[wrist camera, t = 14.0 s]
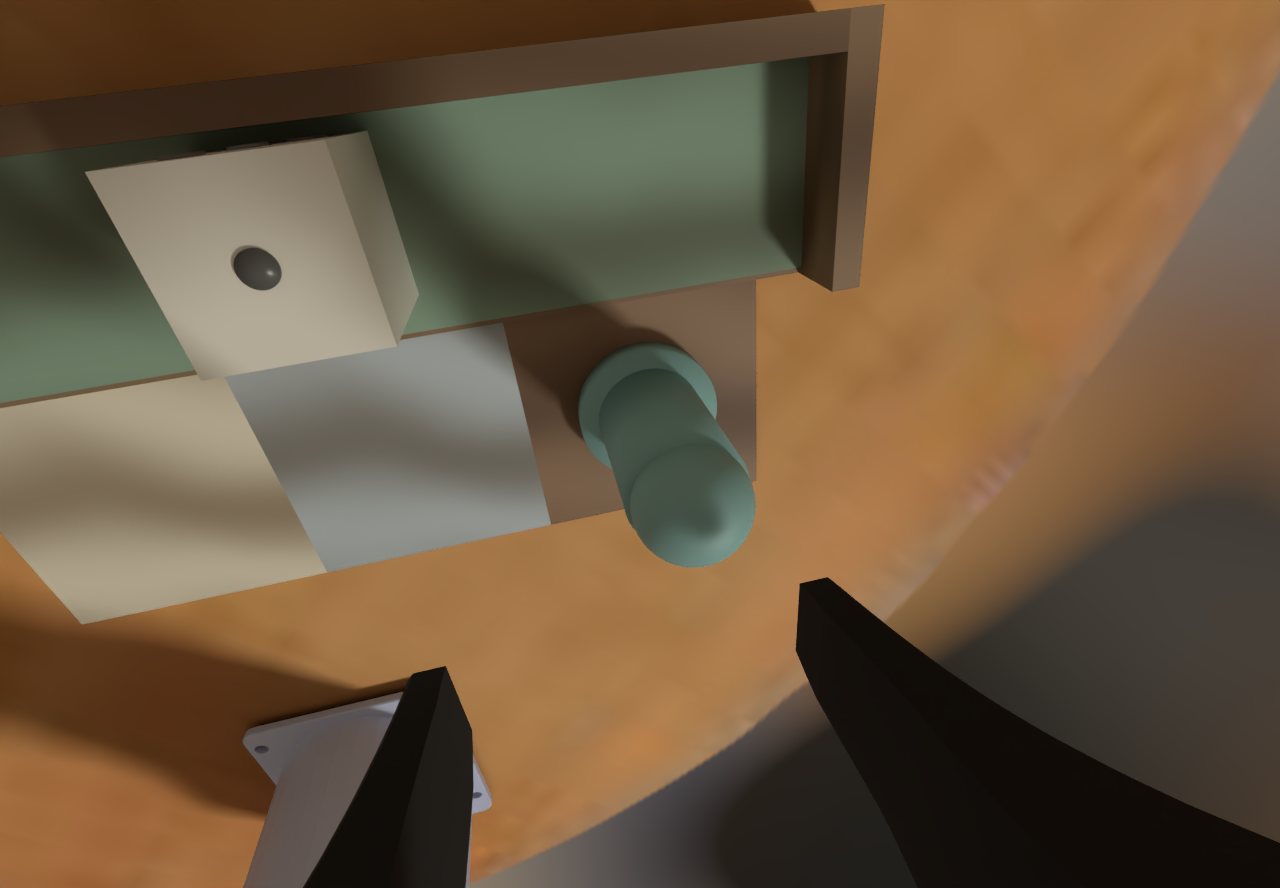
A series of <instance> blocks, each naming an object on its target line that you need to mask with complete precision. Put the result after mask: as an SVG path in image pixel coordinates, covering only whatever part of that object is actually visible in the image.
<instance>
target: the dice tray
mask: <svg viewBox="0 0 1280 888" xmlns="http://www.w3.org/2000/svg"><path fill="white" fill-rule="evenodd" d="M884 5H885V4H882V5H873V6H864V7H856V8H847V9H838V10H830V11H821V12H812V13H804V14H795V15H786V16H777V17H769V18H760V19H751V20H743V21H734V22H725V23H717V24H708V25H699V26H691V27H682V28H673V29H665V30H656V31H647V32H639V33H630V34H621V35H613V36H604V37H595V38H587V39H578V40H569V41H561V42H552V43H543V44H535V45H526V46H517V47H509V48H500V49H491V50H483V51H474V52H465V53H457V54H448V55H439V56H431V57H422V58H413V59H405V60H396V61H387V62H379V63H370V64H361V65H352V66H344V67H335V68H326V69H318V70H309V71H300V72H292V73H283V74H274V75H266V76H257V77H248V78H240V79H231V80H222V81H214V82H205V83H196V84H188V85H179V86H170V87H162V88H153V89H144V90H136V91H127V92H118V93H110V94H101V95H92V96H84V97H75V98H66V99H58V100H49V101H40V102H32V103H23V104H14V105H6V106H0V408H5V407H11V406H16V405H22V404H28V403H34V402H40V401H46V400H52V399H58V398H63V397H69V396H75V395H81V394H87V393H93V392H99V391H104V390H110V389H116V388H122V387H128V386H134V385H140V384H145V383H151V382H157V381H163V380H169V379H175V378H181V377H187V376H192V375H198V374H197V373H196V371H195V369H194V367H193V365H192V364H191V362H190V360H189V358H188V356H187V355H186V353H185V351H184V349H183V347H182V346H181V344H180V342H179V340H178V338H177V337H176V335H175V333H174V331H173V329H172V328H171V326H170V324H169V322H168V320H167V319H166V317H165V315H164V313H163V311H162V310H161V308H160V306H159V304H158V303H157V301H156V299H155V297H154V295H153V294H152V292H151V290H150V288H149V286H148V285H147V283H146V281H145V279H144V277H143V276H142V274H141V272H140V270H139V268H138V267H137V265H136V263H135V261H134V259H133V258H132V256H131V254H130V252H129V250H128V249H127V247H126V245H125V243H124V241H123V240H122V238H121V236H120V234H119V232H118V231H117V229H116V227H115V225H114V223H113V222H112V220H111V218H110V216H109V214H108V213H107V211H106V209H105V207H104V206H103V204H102V202H101V200H100V198H99V197H98V195H97V193H96V191H95V189H94V188H93V186H92V184H91V182H90V180H89V179H88V177H87V175H86V173H85V172H88V171H93V170H99V169H105V168H111V167H117V166H123V165H128V164H134V163H140V162H146V161H152V160H156V158H155V157H158V156H165V155H172V154H179V153H186V152H194V151H202V150H204V151H205V152H208V151H216V150H223V149H226V148H225V147H228V146H235V145H242V144H249V143H257V142H265V141H269V143H276V142H284V141H286V139H285V138H291V137H298V136H305V135H313V134H321V133H325V136H329V135H336V134H344V133H351V132H359V131H366V130H367V131H368V134H369V137H370V141H371V144H372V147H373V150H374V153H375V157H376V160H377V163H378V166H379V169H380V172H381V176H382V179H383V182H384V185H385V188H386V192H387V195H388V198H389V201H390V204H391V207H392V211H393V214H394V217H395V220H396V223H397V227H398V230H399V233H400V236H401V239H402V242H403V246H404V249H405V252H406V255H407V258H408V262H409V265H410V268H411V271H412V274H413V277H414V281H415V284H416V287H417V290H418V293H419V296H418V298H417V300H416V303H415V305H414V308H413V310H412V312H411V315H410V317H409V320H408V322H407V324H406V327H405V329H404V331H403V334H402V336H401V339H400V340H404V339H409V338H415V337H421V336H427V335H433V334H439V333H445V332H450V331H456V330H462V329H468V328H474V327H480V326H486V325H492V324H497V323H503V322H509V321H515V320H521V319H527V318H533V317H538V316H544V315H550V314H556V313H562V312H568V311H574V310H579V309H585V308H591V307H597V306H603V305H609V304H615V303H621V302H626V301H632V300H638V299H644V298H650V297H656V296H662V295H667V294H673V293H679V292H685V291H691V290H697V289H703V288H708V287H714V286H720V285H726V284H732V283H738V282H744V281H750V280H755V279H761V278H767V277H773V276H779V275H785V274H791V273H796V272H799V273H801V274H802V275H804V276H806V277H808V278H809V279H811V280H813V281H815V282H816V283H818V284H820V285H822V286H823V287H825V288H827V289H828V290H830V291H832V292H834V291H839V290H845V289H851V288H856V287H859V282H860V271H861V260H862V249H863V238H864V227H865V216H866V204H867V193H868V182H869V171H870V160H871V149H872V138H873V127H874V116H875V105H876V94H877V82H878V71H879V60H880V49H881V38H882V27H883V16H884Z"/></svg>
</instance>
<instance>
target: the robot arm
mask: <svg viewBox="0 0 1280 888" xmlns="http://www.w3.org/2000/svg"><path fill="white" fill-rule="evenodd" d="M796 652H797V654H798V657H799V659H800V661H801V664H802V666H803V669H804V671H805V673H806V676H807V678H808V680H809V682H810V685H811V687H812V689H813V691H814V694H815V696H816V698H817V700H818V702H819V703H820V705H821V707H822V709H823V711H824V712H825V714H826V716H827V717H828V719H829V721H830V723H831V725H832V726H833V728H834V730H835V732H836V733H837V735H838V737H839V739H840V740H841V742H842V744H843V745H844V747H845V749H846V751H847V752H848V754H849V755H850V758H851V759H852V761H853V763H854V764H855V766H856V768H857V770H858V771H859V773H860V775H861V777H862V778H863V780H864V782H865V784H866V785H867V787H868V789H869V791H870V792H871V794H872V796H873V797H874V799H875V801H876V803H877V805H878V806H879V808H880V810H881V812H882V814H883V816H884V818H885V820H886V822H887V823H888V825H889V827H890V829H891V831H892V834H893V836H894V838H895V840H896V842H897V844H898V846H899V848H900V851H901V853H902V855H903V857H904V859H905V861H906V863H907V866H908V867H909V870H910V872H911V874H912V876H913V878H914V881H915V883H916V885H917V887H918V888H1280V843H1278V842H1276V841H1274V840H1271V839H1269V838H1266V837H1264V836H1261V835H1259V834H1257V833H1254V832H1252V831H1250V830H1247V829H1245V828H1242V827H1240V826H1238V825H1235V824H1233V823H1231V822H1228V821H1226V820H1224V819H1221V818H1218V817H1216V816H1214V815H1211V814H1209V813H1207V812H1204V811H1202V810H1200V809H1197V808H1195V807H1193V806H1190V805H1188V804H1186V803H1184V802H1182V801H1179V800H1177V799H1175V798H1173V797H1171V796H1169V795H1166V794H1164V793H1162V792H1160V791H1158V790H1156V789H1154V788H1152V787H1149V786H1147V785H1145V784H1143V783H1141V782H1139V781H1137V780H1135V779H1132V778H1131V777H1128V776H1127V775H1125V774H1122V773H1121V772H1119V771H1117V770H1115V769H1113V768H1111V767H1109V766H1107V765H1105V764H1103V763H1101V762H1099V761H1097V760H1095V759H1093V758H1091V757H1090V756H1088V755H1086V754H1084V753H1082V752H1080V751H1078V750H1076V749H1074V748H1072V747H1071V746H1069V745H1067V744H1065V743H1063V742H1061V741H1059V740H1057V739H1056V738H1054V737H1052V736H1050V735H1048V734H1047V733H1045V732H1043V731H1042V730H1040V729H1038V728H1036V727H1035V726H1033V725H1031V724H1029V723H1028V722H1026V721H1025V720H1023V719H1021V718H1020V717H1018V716H1016V715H1015V714H1013V713H1011V712H1010V711H1008V710H1006V709H1004V708H1003V707H1001V706H1000V705H998V704H996V703H995V702H994V701H992V700H990V699H989V698H987V697H986V696H984V695H983V694H981V693H980V692H978V691H977V690H975V689H974V688H972V687H970V686H969V685H968V684H966V683H965V682H963V681H962V680H961V679H959V678H958V677H956V676H955V675H953V674H952V673H950V672H949V671H947V670H946V669H945V668H943V667H942V666H940V665H939V664H938V663H936V662H935V661H934V660H932V659H931V658H929V657H928V656H927V655H925V654H924V653H923V652H921V651H920V650H919V649H917V648H916V647H914V646H913V645H912V644H911V643H909V642H908V641H907V640H905V639H904V638H903V637H901V636H900V635H899V634H897V633H896V632H895V631H894V630H892V629H891V628H890V627H888V626H887V625H886V624H885V623H884V622H882V621H881V620H880V619H879V618H877V617H876V616H875V615H874V614H872V613H871V612H870V611H869V610H867V609H866V608H865V607H864V606H862V605H861V604H860V603H859V602H858V601H856V600H855V599H854V598H853V597H851V596H850V595H849V594H848V593H847V592H845V591H844V590H843V589H842V588H841V587H839V586H838V585H837V584H836V583H834V582H833V581H832V580H831V579H829V578H828V577H827V578H822V579H818V580H814V581H809V582H805V583H801V584H800V589H799V606H798V622H797V639H796ZM242 742H243V745H244V746H245V747H246V748H247V750H248V751H249V752H250V753H251V755H252V756H253V757H254V758H255V760H256V761H257V762H258V763H259V765H260V766H261V767H262V768H263V770H264V771H265V772H266V773H267V775H268V776H269V777H270V779H271V780H272V781H273V782H274V784H275V785H276V789H275V792H274V795H273V798H272V801H271V804H270V807H269V810H268V813H267V816H266V819H265V823H264V826H263V829H262V832H261V835H260V838H259V841H258V844H257V847H256V850H255V853H254V856H253V859H252V862H251V865H250V868H249V872H248V875H247V878H246V881H245V884H244V887H243V888H469V877H470V852H471V827H472V814H473V813H477V812H481V811H484V810H487V809H488V808H490V807H491V805H492V796H491V794H490V791H489V789H488V787H487V785H486V782H485V780H484V778H483V776H482V774H481V771H480V769H479V767H478V765H477V762H476V760H475V758H474V756H473V743H472V729H471V727H470V724H469V722H468V719H467V717H466V714H465V712H464V710H463V707H462V705H461V702H460V700H459V697H458V695H457V693H456V690H455V688H454V685H453V683H452V680H451V678H450V675H449V673H448V671H447V668H446V666H444V667H440V668H435V669H431V670H427V671H422V672H418V673H414V674H413V675H412V676H411V677H410V678H409V680H408V682H407V685H406V687H405V689H404V691H403V692H399V693H395V694H391V695H386V696H382V697H378V698H374V699H370V700H366V701H361V702H357V703H353V704H349V705H345V706H341V707H336V708H332V709H328V710H324V711H320V712H316V713H311V714H307V715H303V716H299V717H295V718H291V719H286V720H282V721H278V722H274V723H270V724H266V725H261V726H257V727H254V728H251V729H249V730H248V731H246V733H245V736H244V738H243V741H242Z"/></svg>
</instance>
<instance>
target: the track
mask: <svg viewBox="0 0 1280 888" xmlns="http://www.w3.org/2000/svg"><path fill="white" fill-rule="evenodd" d="M641 342H660V343H666V344H670V345H673V346H675V347H678V348H680V349H682V350H683V351H685V352H687V353H688V354H689V355H690V356H692V357H693V358H694V359H695V360H696V361H697V362H698V364H699V365H700V366H701V367H702V369H703V370H704V371H705V373H706V374H707V375H708V377H709V379H710V380H711V382H712V385H713V387H714V390H715V393H716V399H717V413H716V422H717V423H718V425H719V426H720V428H721V429H722V430H723V432H724V433H725V435H726V436H727V438H728V439H729V441H730V442H731V444H732V445H733V447H734V448H735V449H736V451H737V452H738V454H739V455H740V457H741V458H742V460H743V461H744V463H745V465H746V467H747V470H748V474H749V479H750V481H751V482H753V481H756V279H755V280H750V281H744V282H738V283H732V284H726V285H720V286H714V287H708V288H703V289H697V290H691V291H685V292H679V293H673V294H667V295H662V296H656V297H650V298H644V299H638V300H632V301H626V302H621V303H615V304H609V305H603V306H597V307H591V308H585V309H579V310H574V311H568V312H562V313H556V314H550V315H544V316H538V317H533V318H527V319H521V320H515V321H509V322H503V323H497V324H492V325H486V326H480V327H474V328H468V329H462V330H456V331H450V332H445V333H439V334H433V335H427V336H421V337H415V338H409V339H404V340H400V341H399V343H398V346H397V347H391V348H386V349H380V350H374V351H369V352H363V353H357V354H352V355H346V356H340V357H334V358H329V359H323V360H317V361H312V362H306V363H300V364H295V365H289V366H283V367H278V368H272V369H266V370H260V371H255V372H249V373H243V374H238V375H232V376H226V377H221V378H215V379H209V380H204V381H201V380H200V378H199V376H198V375H192V376H187V377H181V378H175V379H169V380H163V381H157V382H151V383H145V384H140V385H134V386H128V387H122V388H116V389H110V390H104V391H99V392H93V393H87V394H81V395H75V396H69V397H63V398H58V399H52V400H46V401H40V402H34V403H28V404H22V405H16V406H11V407H5V408H0V532H1V533H2V535H3V536H4V537H5V538H6V539H7V540H8V541H9V542H10V544H11V545H12V546H13V547H14V548H15V549H16V550H17V552H18V553H19V554H20V555H21V556H22V557H23V558H24V559H25V561H26V562H27V563H28V564H29V565H30V566H31V567H32V569H33V570H34V571H35V572H36V573H37V574H38V575H39V577H40V578H41V579H42V580H43V581H44V582H45V583H46V584H47V586H48V587H49V588H50V589H51V590H52V591H53V592H54V594H55V595H56V596H57V597H58V598H59V599H60V600H61V601H62V603H63V604H64V605H65V606H66V607H67V608H68V609H69V611H70V612H71V613H72V614H73V615H74V616H75V617H76V618H77V620H78V621H79V622H80V623H81V624H82V625H83V624H87V623H92V622H97V621H101V620H106V619H111V618H116V617H120V616H125V615H130V614H134V613H139V612H144V611H148V610H153V609H158V608H162V607H167V606H172V605H176V604H181V603H186V602H191V601H195V600H200V599H205V598H209V597H214V596H219V595H223V594H228V593H233V592H237V591H242V590H247V589H252V588H256V587H261V586H266V585H270V584H275V583H280V582H284V581H289V580H294V579H298V578H303V577H308V576H312V575H317V574H322V573H327V572H331V571H336V570H341V569H345V568H350V567H355V566H359V565H364V564H369V563H373V562H378V561H383V560H388V559H392V558H397V557H402V556H406V555H411V554H416V553H420V552H425V551H430V550H434V549H439V548H444V547H448V546H453V545H458V544H463V543H467V542H472V541H477V540H481V539H486V538H491V537H495V536H500V535H505V534H509V533H514V532H519V531H524V530H528V529H533V528H538V527H542V526H547V525H552V524H556V523H561V522H566V521H570V520H575V519H580V518H584V517H589V516H594V515H599V514H603V513H608V512H613V511H617V510H622V509H624V506H623V502H622V499H621V496H620V493H619V489H618V486H617V483H616V480H615V476H614V473H613V470H612V469H611V468H609V467H607V466H606V465H604V464H603V463H601V462H600V461H599V460H598V459H597V458H596V457H595V456H594V455H593V454H592V453H591V451H590V450H589V448H588V446H587V445H586V442H585V440H584V438H583V434H582V430H581V426H580V422H579V417H578V401H579V395H580V392H581V389H582V386H583V384H584V382H585V380H586V378H587V377H588V375H589V373H590V372H591V371H592V369H593V368H594V367H595V366H596V365H597V364H598V363H599V362H600V361H601V360H602V359H603V358H605V357H606V356H608V355H609V354H610V353H612V352H614V351H616V350H618V349H620V348H622V347H625V346H627V345H631V344H635V343H641Z"/></svg>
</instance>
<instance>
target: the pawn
mask: <svg viewBox="0 0 1280 888" xmlns="http://www.w3.org/2000/svg"><path fill="white" fill-rule="evenodd" d="M716 413H717V399H716V393H715V390H714V387H713V385H712V382H711V380H710V379H709V377H708V375H707V374H706V373H705V371H704V370H703V369H702V367H701V366H700V365H699V364H698V362H697V361H696V360H695V359H694V358H693V357H692V356H690V355H689V354H688V353H687V352H685V351H683V350H682V349H680V348H678V347H675V346H673V345H670V344H666V343H660V342H641V343H635V344H631V345H627V346H625V347H622V348H620V349H618V350H616V351H614V352H612V353H610V354H609V355H608V356H606V357H605V358H603V359H602V360H601V361H600V362H599V363H598V364H597V365H596V366H595V367H594V368H593V369H592V371H591V372H590V373H589V375H588V377H587V378H586V380H585V382H584V384H583V386H582V389H581V392H580V395H579V401H578V417H579V422H580V426H581V430H582V434H583V438H584V440H585V442H586V445H587V446H588V448H589V450H590V451H591V453H592V454H593V455H594V456H595V457H596V458H597V459H598V460H599V461H600V462H601V463H603V464H604V465H606V466H607V467H609V468H611V469H612V470H613V473H614V476H615V480H616V483H617V486H618V489H619V493H620V496H621V499H622V502H623V506H624V509H625V512H626V515H627V518H628V520H629V522H630V524H631V525H632V527H633V528H634V529H635V530H636V532H637V534H638V536H639V537H640V539H641V540H642V542H643V543H644V544H645V545H646V547H647V548H648V549H649V550H650V551H651V552H653V553H654V554H655V555H656V556H658V557H660V558H661V559H663V560H665V561H666V562H669V563H671V564H674V565H678V566H682V567H704V566H709V565H713V564H715V563H718V562H720V561H722V560H724V559H726V558H727V557H729V556H730V555H731V554H733V553H734V552H735V551H736V550H737V549H738V548H739V547H740V546H741V544H742V543H743V542H744V541H745V539H746V538H747V536H748V534H749V532H750V530H751V527H752V524H753V521H754V516H755V507H756V505H755V494H754V490H753V486H752V483H751V481H750V479H749V474H748V470H747V467H746V465H745V463H744V461H743V460H742V458H741V457H740V455H739V454H738V452H737V451H736V449H735V448H734V447H733V445H732V444H731V442H730V441H729V439H728V438H727V436H726V435H725V433H724V432H723V430H722V429H721V428H720V426H719V425H718V423H717V422H716Z"/></svg>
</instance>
